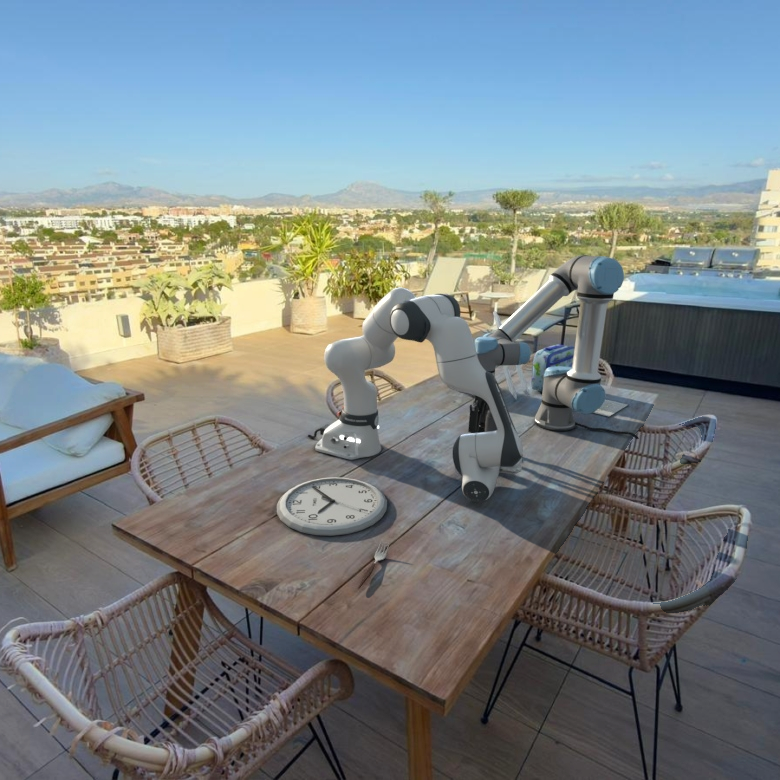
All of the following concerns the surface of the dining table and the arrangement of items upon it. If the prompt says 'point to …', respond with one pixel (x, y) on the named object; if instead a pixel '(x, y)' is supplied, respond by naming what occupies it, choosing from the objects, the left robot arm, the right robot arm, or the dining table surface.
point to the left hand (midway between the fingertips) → (490, 449)
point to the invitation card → (610, 408)
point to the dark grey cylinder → (490, 422)
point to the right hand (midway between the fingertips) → (477, 446)
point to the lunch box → (550, 362)
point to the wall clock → (331, 506)
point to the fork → (378, 557)
